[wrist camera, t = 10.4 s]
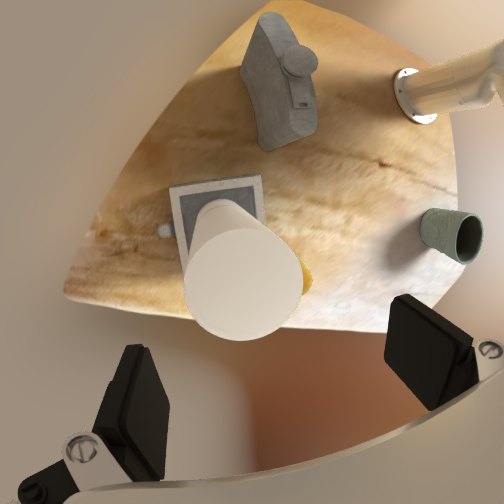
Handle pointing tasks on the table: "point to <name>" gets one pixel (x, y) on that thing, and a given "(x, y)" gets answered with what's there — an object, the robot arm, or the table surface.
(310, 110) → the hip flask
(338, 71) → the table surface
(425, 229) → the green cup
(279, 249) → the cylindrical container
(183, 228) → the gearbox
